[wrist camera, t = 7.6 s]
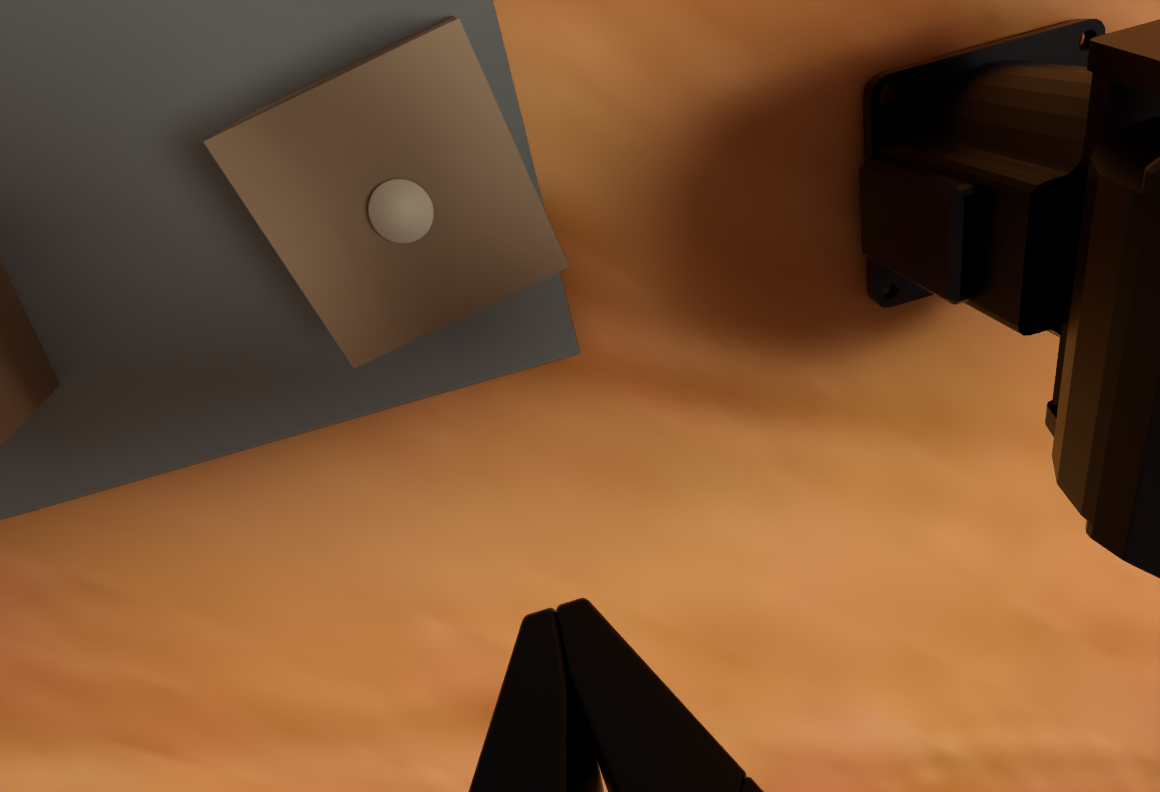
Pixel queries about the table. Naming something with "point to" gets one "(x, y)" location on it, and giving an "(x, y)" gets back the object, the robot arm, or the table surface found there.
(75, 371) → the mat
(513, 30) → the table surface
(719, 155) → the table surface
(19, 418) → the pip block two
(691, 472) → the table surface
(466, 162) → the pip block one
